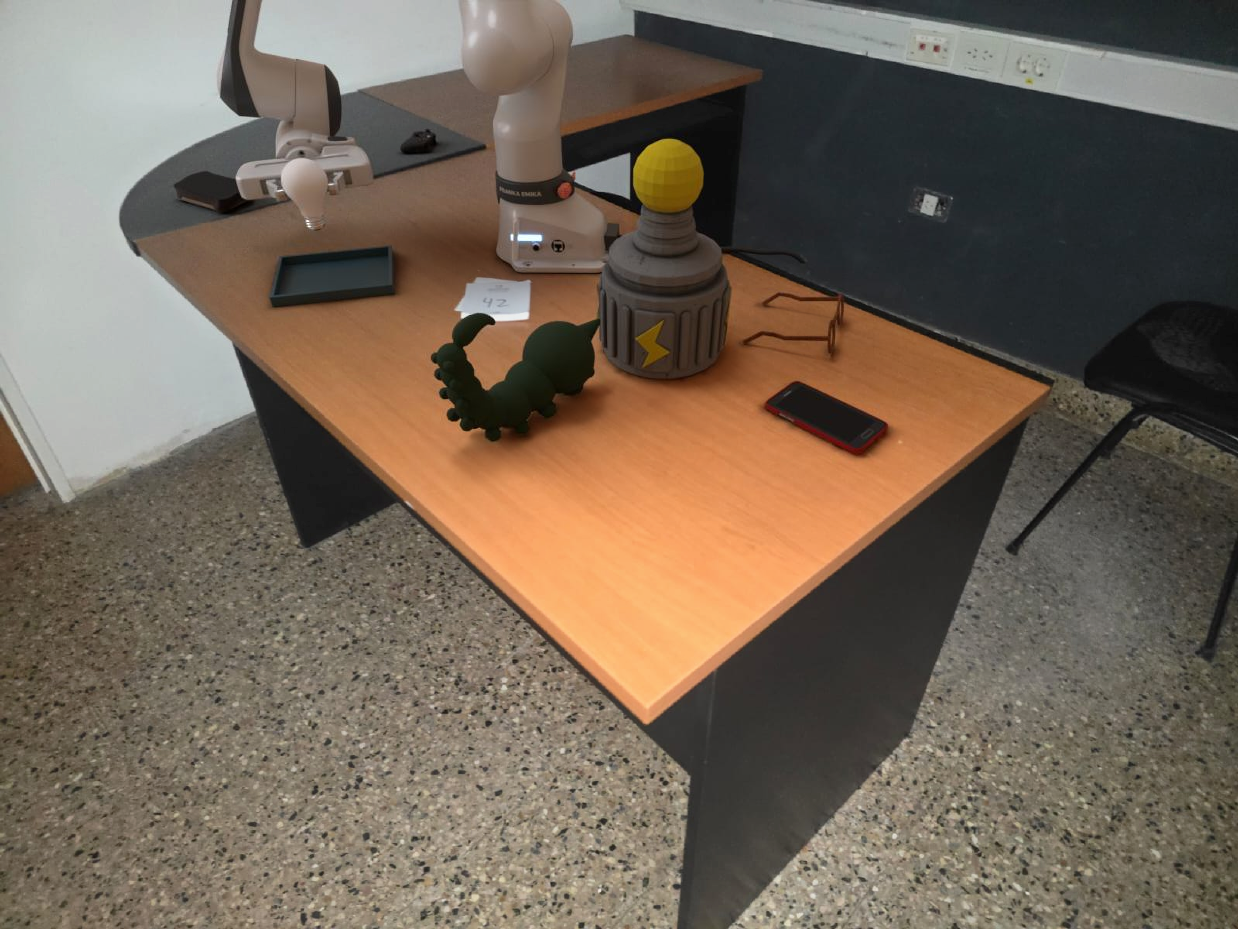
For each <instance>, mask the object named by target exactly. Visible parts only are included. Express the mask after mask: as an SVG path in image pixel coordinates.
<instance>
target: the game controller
mask: <svg viewBox="0 0 1238 929" xmlns="http://www.w3.org/2000/svg"><path fill="white" fill-rule="evenodd" d="M437 144H438V142H437V135H436V134H435V132H432V131H431V129H430V128H426V129H425V130H417V131H414V132H413V133H411V136H410V137H409V138H407V139H406V140H405V141H403V143H401V145H400V146H399V148H400V152H401V153H403V154H410V153H414V152H417V151H421V152H424V153H427V152H430V151H431V149H430V145H437Z"/></svg>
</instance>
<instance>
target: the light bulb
mask: <svg viewBox="0 0 1238 929" xmlns="http://www.w3.org/2000/svg"><path fill="white" fill-rule="evenodd" d="M281 183H282V187H283V189H284V191H285V193H286V194H287V197H289V199H290V200H291V201H292V202H293V203H294V204H295V205H296V206H297V207H298V208H299V211H300V214H301V216H302V217H303V218H304V222H305V226H306V228H307V229H309V230H311V231H321V230H322V229H324V228H325V227H326V219H325V215H324V213H325V207H324V203H325V198H326V195H327V192H328V190H327V189H328V179H327V176H326V174H325V172H324V170H323V169H322V168H321V166H320V165H318V164H317V163H316V162H314V161H312V160H310V159H306V158H298V159H294V160H292V161H290V162H289V163H287V164H286V165H285V167H284V169H283V170H282V174H281Z"/></svg>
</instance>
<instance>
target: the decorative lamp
mask: <svg viewBox="0 0 1238 929" xmlns="http://www.w3.org/2000/svg"><path fill="white" fill-rule="evenodd" d="M632 171H633V172H632V173H633V174H632V176H633V177H632V186H633V190H634V191H635V194H636V197H637V198H638V199H639V201H640V202H641V203H642V205H641V209H640V215H639V216H638V219H637V223H636V229H635V230H634V231H631V232H627V233H625V234H622V235H623V236H622V237H620V238H618V239H616V240H615V241H614V243H613V244H612V245H611V246H610V248H609V260H608V261H607V262H606V263H605V265H604V266H603V271H602V272H601V274H600V275H599V277H598V284H596V290H597V291H596V292H597V301H598V305H597V311H596V315H595V316H596V317H595V319H600V320H601V323H600V325H599V327H598V333H599V335H598V337H599V341H600V343H601V346H602V350H603V352H604V353H605V356H606V357H607V360H608V361H610V362H611V363H612V364H614V365H615V366H616V367H617V368H619V369H620V370H622V371H625V372H627V373H629V374H632V375H634V376H637V377H642V378H646V379H647V378H648V379H653V380H675V379H680V378H685V377H690V376H692V375H695V374H698V373H700V372H702V371H704V370H706V369H708V368H709V367H710V366H712V364H714V363H715V362H716V361H717V360H718V358H719V355H720V353H721V352H722V351H723V349H724V347H726V345H727V339H728V331H729V322H730V310H731V300H732V292H733V287H732V286H731V283H730V280H729V279H728V278H729V277H728V272H727V271H728V270H727V267H726V266H725V265H724V263H723V252H722V251H721V248H720V247H721V246H720V245H719V244H718V243H717V242H716V241H715V240H714V239H712V238H710V237H709V236H707V235H705V234H703V233H700V232H698V231H697V230H696V228H697V225H696V220H695V217H694V210H693V204H694V203H695V202H696V201H697V199H698V198H699V195H700V194H701V191H702V190H703V187H704V175H705V173H704V168H703V165H702V160H701V158H700V156H699V155H698V154H697V152H696V151H695V150H694V149H693V148H692V146H691V145H689V144H687V143H685V142H683V141H681V140H679V139H675V138H662V139H660V140H658V141H654V142H653V143H651V144H649V145H647V146H646V147H645V148H644V150H643V151H642V152H641V153H640V154H639V155H638V156H637V159H636V161H635V164H634V166H633V170H632Z"/></svg>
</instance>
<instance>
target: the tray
mask: <svg viewBox="0 0 1238 929" xmlns="http://www.w3.org/2000/svg"><path fill="white" fill-rule="evenodd" d="M394 255H395V254H394V248H393V246H392V245H391V244H390V245H381V246H370V247H361V248H359V247H358V248H349V249H339V250H330V251H317V252H310V253H298V254H288V255H279V256H278V259H277V263H276V268H275V272H274V276H273V280H272V281H273V282H272V286H271V289H270V294H269V300H270V303H271V306H272V308H277V307H286V306H295V305H304V304H305V305H306V304H313V303H323V302H333V301H342V300H351V299H360V298H370V297H379V296H387V295H388V296H389V295H395V256H394Z"/></svg>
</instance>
